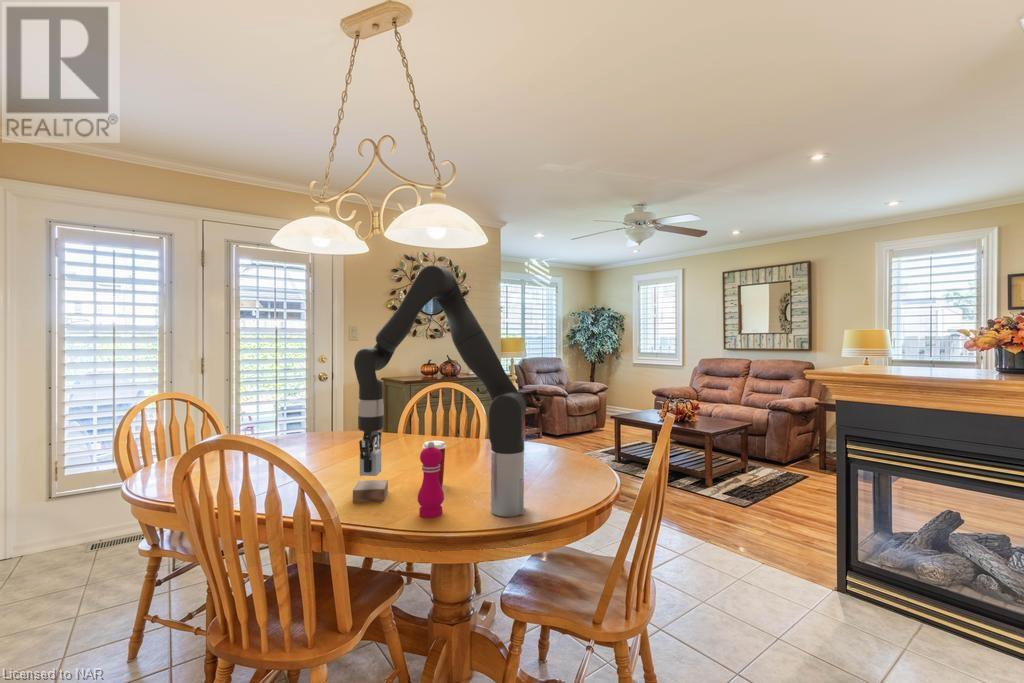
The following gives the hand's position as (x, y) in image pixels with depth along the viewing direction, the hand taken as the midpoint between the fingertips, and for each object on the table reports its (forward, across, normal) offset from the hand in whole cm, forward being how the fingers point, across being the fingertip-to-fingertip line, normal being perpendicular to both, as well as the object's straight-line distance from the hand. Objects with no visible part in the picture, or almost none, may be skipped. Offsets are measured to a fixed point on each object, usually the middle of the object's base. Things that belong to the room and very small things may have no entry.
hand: (370, 469), depth 147 cm
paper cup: (+9, +12, -17) cm, 23 cm away
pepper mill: (+9, -13, -21) cm, 26 cm away
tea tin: (+1, 0, 0) cm, 1 cm away
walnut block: (+9, 0, 0) cm, 9 cm away
